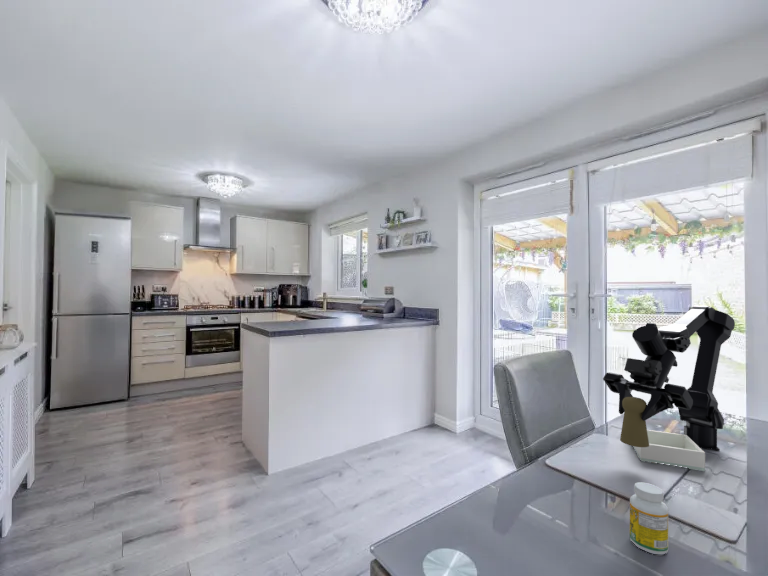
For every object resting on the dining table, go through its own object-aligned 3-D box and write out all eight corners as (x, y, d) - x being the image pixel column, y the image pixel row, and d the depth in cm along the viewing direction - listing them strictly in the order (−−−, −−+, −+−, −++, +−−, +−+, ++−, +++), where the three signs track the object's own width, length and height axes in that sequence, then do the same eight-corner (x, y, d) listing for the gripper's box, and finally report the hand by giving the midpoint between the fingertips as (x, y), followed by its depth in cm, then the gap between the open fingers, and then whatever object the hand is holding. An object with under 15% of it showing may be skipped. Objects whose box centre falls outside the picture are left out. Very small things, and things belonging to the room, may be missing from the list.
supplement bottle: (667, 561, 59) (667, 500, 59) (627, 546, 63) (627, 488, 63) (669, 544, 63) (669, 487, 64) (631, 531, 67) (632, 477, 67)
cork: (640, 438, 95) (640, 395, 96) (655, 448, 89) (655, 401, 90) (615, 437, 96) (615, 394, 96) (628, 446, 90) (628, 400, 90)
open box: (686, 451, 103) (686, 434, 103) (705, 471, 91) (705, 452, 91) (630, 442, 109) (630, 427, 109) (640, 460, 97) (640, 443, 97)
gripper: (607, 342, 103) (581, 387, 98) (686, 352, 87) (660, 406, 81) (624, 369, 107) (599, 413, 102) (703, 383, 90) (679, 436, 85)
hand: (631, 416), depth 92 cm, fingers closed on cork, 5 cm apart
